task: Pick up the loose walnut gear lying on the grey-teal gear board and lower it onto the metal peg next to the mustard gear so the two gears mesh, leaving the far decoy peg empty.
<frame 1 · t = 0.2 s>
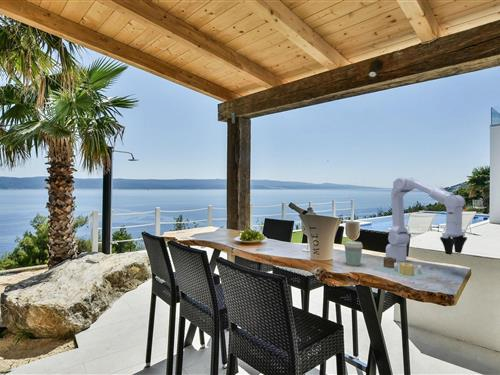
hand: (453, 253, 134), 10 cm above the table, tool pointing down, fingers open, 7 cm apart
coffee cup: (353, 267, 146), on the table
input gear: (389, 266, 142), point 1 cm above the table, touching gear board
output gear: (406, 269, 130), point 4 cm above the table, hinge at 0.0°, touching gear board
gear board: (400, 274, 135), on the table
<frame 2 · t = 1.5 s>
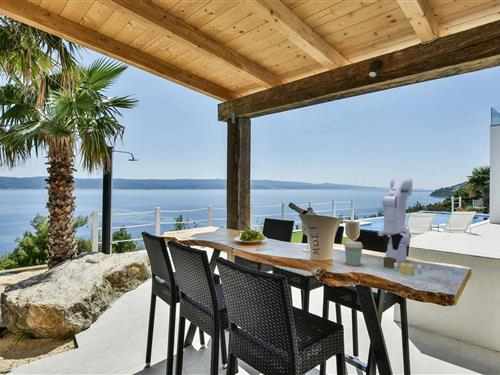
hand: (389, 250, 142), 9 cm above the table, tool pointing down, fingers open, 7 cm apart
nothing on the table moved.
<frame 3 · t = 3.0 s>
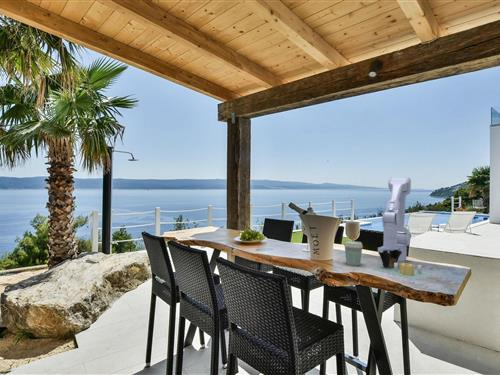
hand: (389, 266, 142), 2 cm above the table, tool pointing down, fingers closed on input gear, 5 cm apart
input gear: (389, 266, 142), point 2 cm above the table, touching gear board, gripper
everything else where it was.
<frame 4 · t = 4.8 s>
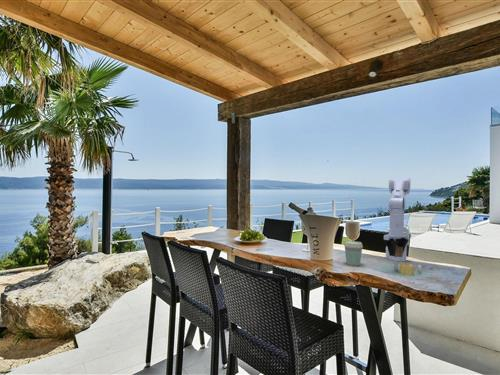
hand: (396, 255, 135), 9 cm above the table, tool pointing down, fingers closed on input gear, 5 cm apart
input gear: (396, 255, 135), point 8 cm above the table, touching gripper
everything else where it was.
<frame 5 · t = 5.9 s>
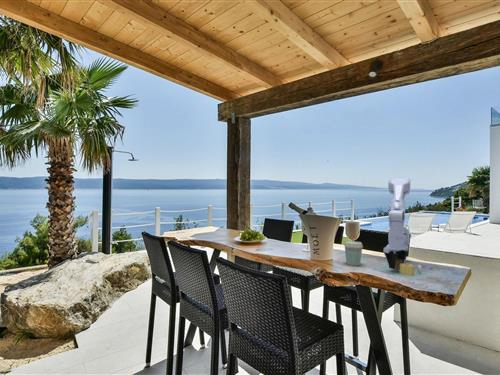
hand: (395, 267, 135), 3 cm above the table, tool pointing down, fingers closed on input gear, 5 cm apart
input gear: (395, 268, 135), point 3 cm above the table, touching gripper
everything else where it was.
when the fingers open (3 cm above the table, at t = 6.9 s): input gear drops 1 cm, resting on gear board.
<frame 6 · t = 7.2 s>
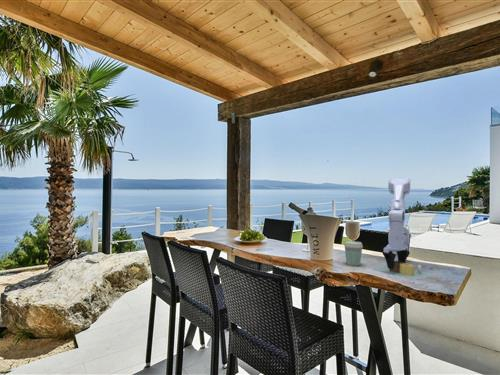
hand: (395, 267, 135), 3 cm above the table, tool pointing down, fingers open, 7 cm apart
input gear: (395, 271, 135), point 1 cm above the table, touching gear board
everything else where it was.
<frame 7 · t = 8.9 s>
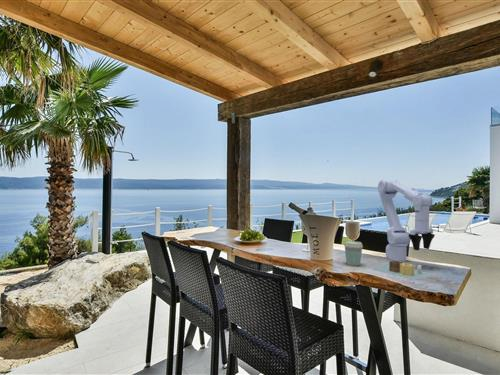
hand: (421, 249, 142), 10 cm above the table, tool pointing down, fingers open, 7 cm apart
nothing on the table moved.
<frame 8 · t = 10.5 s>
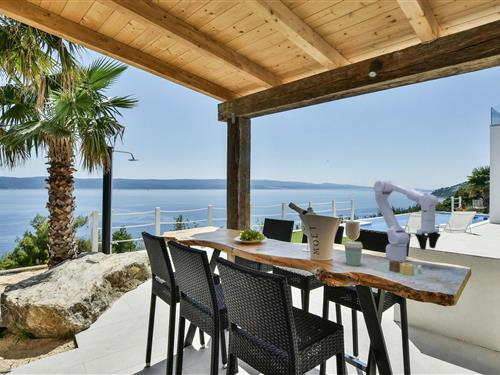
hand: (427, 248, 144), 10 cm above the table, tool pointing down, fingers open, 7 cm apart
nothing on the table moved.
at the end: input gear 0.0 cm from the target spot, point 1.5 cm above the table; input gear tilted 0°; the gripper is holding nothing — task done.
